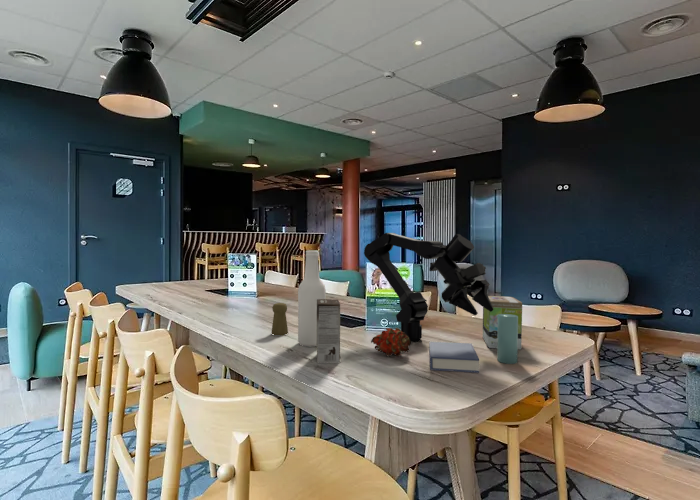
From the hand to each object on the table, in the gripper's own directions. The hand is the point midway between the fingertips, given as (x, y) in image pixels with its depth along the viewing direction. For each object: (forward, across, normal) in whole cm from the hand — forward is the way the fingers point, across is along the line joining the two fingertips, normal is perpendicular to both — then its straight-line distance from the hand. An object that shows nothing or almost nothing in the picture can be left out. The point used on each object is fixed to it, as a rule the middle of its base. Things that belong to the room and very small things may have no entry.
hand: (484, 312), depth 114 cm
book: (+7, -12, +11) cm, 18 cm away
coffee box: (-11, -35, +29) cm, 47 cm away
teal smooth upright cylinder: (+14, 0, +4) cm, 14 cm away
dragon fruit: (-5, -19, +22) cm, 30 cm away
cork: (-36, -28, +54) cm, 70 cm away
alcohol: (-23, -28, +40) cm, 54 cm away
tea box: (+7, +17, +11) cm, 22 cm away
